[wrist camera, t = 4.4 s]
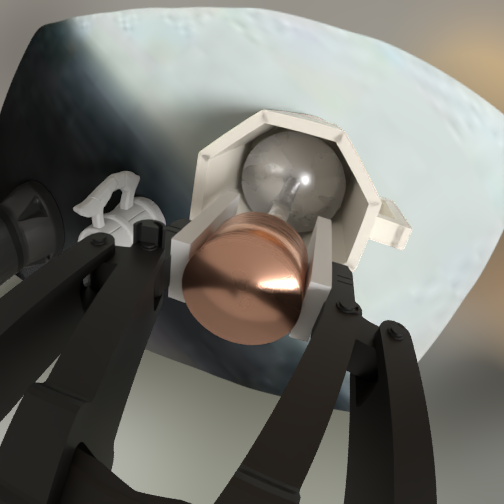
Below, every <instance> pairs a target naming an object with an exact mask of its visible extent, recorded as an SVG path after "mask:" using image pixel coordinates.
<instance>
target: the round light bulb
mask: <svg viewBox="0 0 504 504" xmlns="http://www.w3.org/2000/svg"><path fill="white" fill-rule="evenodd" d="M345 186H346V185H345V174H344V170H343V167H342V164H341V162H340V160H339V158H338V156H337V155H336V153H335V152H334V151H333V149H332V148H331V147H330V146H329V145H328V144H326V143H325V142H324V141H322V140H321V139H320V138H318V137H316V136H314V135H310V134H307V133H303V132H299V131H286V132H281V133H277V134H274V135H272V136H270V137H268V138H266V139H264V140H263V141H261V142H260V143H259V144H258V145H257V146H255V147H254V149H253V150H252V151H251V152H250V154H249V156H248V157H247V159H246V162H245V164H244V167H243V172H242V188H243V192H244V196H245V198H246V201H247V203H248V205H249V206H250V208H251V209H252V211H253V212H245V213H240V214H237V215H235V216H233V217H230V218H229V219H227V220H226V221H224V222H223V223H222V224H221V225H220V226H219V227H218V228H217V230H216V231H215V232H214V233H213V234H212V235H211V236H210V237H209V239H208V240H207V241H206V242H205V243H204V244H203V245H202V247H201V248H200V249H199V250H198V251H197V252H196V253H195V255H194V256H193V257H192V258H191V259H190V261H189V262H188V264H187V265H186V267H185V270H184V273H183V277H182V291H183V296H184V299H185V302H186V304H187V306H188V308H189V310H190V312H191V313H192V314H193V316H194V317H195V318H196V319H197V320H198V322H199V323H200V324H202V325H203V326H204V327H205V328H206V329H208V330H209V331H210V332H212V333H214V334H215V335H217V336H219V337H221V338H223V339H226V340H228V341H231V342H235V343H239V344H246V345H260V344H266V343H270V342H273V341H276V340H278V339H280V338H282V337H283V336H285V335H286V334H287V333H289V332H290V331H291V330H292V329H293V327H294V326H295V325H296V323H297V321H298V319H299V316H300V313H301V308H302V302H303V296H304V289H305V283H306V276H307V270H308V254H307V249H306V246H305V244H304V242H303V240H302V238H301V237H300V235H299V234H298V233H297V232H305V231H309V230H313V229H314V227H315V224H316V221H317V218H318V216H320V217H323V218H326V219H331V218H332V217H333V216H334V215H335V213H336V212H337V211H338V209H339V207H340V205H341V203H342V201H343V198H344V194H345Z"/></svg>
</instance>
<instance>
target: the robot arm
mask: <svg viewBox="0 0 504 504" xmlns="http://www.w3.org/2000/svg"><path fill="white" fill-rule="evenodd" d="M239 198H240V194H239V193H236V192H232V191H228V190H227V191H226V192H225V193H224V194H223V195H221V196H220V197H219V198H218V199H217V200H215V201H214V202H213V203H212V204H211V205H209V206H208V207H207V208H206V209H205V210H204V211H202V212H201V213H200V214H199V215H198V216H197V217H195V218H194V219H193V220H188V219H185V218H182V219H179V220H176V221H174V222H173V223H172V224H170V225H169V226H168V227H166V225H165V224H164V223H162V222H161V221H158V220H152V219H145V220H140V221H137V222H135V223H134V224H133V244H132V245H131V247H124V246H116V245H115V238H114V237H113V236H112V235H110V234H108V233H104V232H97V233H94V234H91V235H89V236H87V237H85V238H84V239H82V240H81V241H79V242H77V243H76V244H74V245H73V246H71V247H70V248H68V249H67V250H65V251H64V252H62V253H61V251H62V249H63V245H64V227H63V222H62V218H61V215H60V212H59V209H58V207H57V204H56V202H55V200H54V199H53V197H52V195H51V194H50V192H49V191H48V190H47V189H46V188H45V187H44V186H43V185H42V184H41V183H39V182H37V181H28V182H25V183H23V184H21V185H19V186H18V187H16V188H15V189H14V190H13V191H12V192H11V193H10V194H9V195H8V196H7V197H6V198H5V199H4V200H3V201H2V202H1V203H0V286H1V285H2V284H3V283H4V282H6V281H7V280H8V279H10V278H11V277H12V276H13V275H15V274H16V273H17V272H19V271H20V270H22V269H23V268H25V267H29V266H33V265H37V264H41V263H46V262H48V263H47V264H45V265H44V266H42V267H41V268H40V269H38V270H37V271H35V272H34V273H33V274H31V275H30V276H29V277H27V278H26V279H25V280H23V281H22V282H21V283H19V284H18V285H17V286H15V287H14V288H13V289H12V290H10V291H9V292H8V293H6V294H5V295H4V296H3V297H1V298H0V421H1V420H3V418H4V417H5V416H6V415H7V414H8V413H9V412H10V411H11V410H12V408H13V407H14V406H15V405H16V404H17V402H18V401H19V400H20V399H21V398H22V397H23V398H22V400H21V402H20V404H19V406H18V408H17V410H16V412H15V414H14V416H13V419H12V421H11V423H10V425H9V427H8V429H7V432H6V434H5V437H4V439H3V441H2V444H1V446H0V504H191V503H188V502H185V501H182V500H177V499H171V498H165V497H160V496H155V495H150V494H145V493H141V492H137V491H135V490H133V489H132V488H131V487H129V486H128V485H127V484H126V483H124V482H123V481H122V480H121V479H120V478H118V477H117V476H116V475H115V474H114V473H113V472H111V469H112V465H113V458H114V440H115V437H116V433H117V430H118V427H119V423H120V420H121V417H122V414H123V411H124V408H125V405H126V402H127V399H128V396H129V393H130V390H131V387H132V384H133V381H134V378H135V375H136V372H137V369H138V366H139V364H140V361H141V358H142V355H143V353H144V350H145V347H146V344H147V342H148V339H149V336H150V334H151V331H152V328H153V326H154V323H155V321H156V318H157V316H158V313H159V310H160V308H161V305H162V303H163V292H164V291H165V290H166V289H167V287H168V286H169V293H168V297H171V298H174V299H176V300H179V301H182V302H185V299H184V296H183V291H182V277H183V273H184V270H185V267H186V265H187V264H188V262H189V261H190V259H191V258H192V257H193V256H194V255H195V253H196V252H197V251H198V250H199V249H200V248H201V247H202V245H203V244H204V243H205V242H206V241H207V240H208V239H209V237H210V236H211V235H212V234H213V233H214V232H215V231H216V230H217V228H218V227H219V226H220V225H221V224H222V223H223V222H224V221H226V220H227V219H229V218H230V217H233V216H235V215H236V214H237V209H238V203H239ZM60 253H61V254H60ZM59 254H60V255H59ZM307 254H308V270H307V276H306V283H305V289H304V296H303V302H302V308H301V313H300V316H299V319H298V321H297V323H296V325H295V326H294V327H293V329H292V330H291V331H290V334H289V337H292V338H296V339H299V340H303V341H306V342H307V341H308V339H309V337H310V335H311V340H310V342H309V344H308V346H307V348H306V350H305V352H304V354H303V356H302V358H301V360H300V362H299V364H298V366H297V368H296V370H295V372H294V374H293V375H292V377H291V379H290V381H289V383H288V385H287V387H286V389H285V390H284V392H283V394H282V396H281V398H280V400H279V401H278V403H277V405H276V407H275V409H274V410H273V412H272V414H271V416H270V417H269V419H268V421H267V422H266V424H265V426H264V428H263V429H262V431H261V433H260V435H259V436H258V438H257V439H256V441H255V443H254V444H253V446H252V448H251V449H250V451H249V452H248V454H247V455H246V457H245V459H244V460H243V462H242V463H241V465H240V467H239V468H238V469H237V471H236V472H235V474H234V476H233V477H232V478H231V480H230V481H229V483H228V484H227V486H226V487H225V489H224V490H223V492H222V493H221V494H220V496H219V497H218V499H217V500H216V502H215V503H214V504H299V502H300V494H299V492H300V488H301V486H302V484H303V481H304V479H305V477H306V475H307V473H308V471H309V468H310V466H311V464H312V462H313V459H314V457H315V455H316V452H317V450H318V448H319V445H320V443H321V440H322V438H323V435H324V433H325V430H326V428H327V425H328V422H329V420H330V417H331V414H332V411H333V409H334V406H335V403H336V400H337V398H338V395H339V392H340V389H341V386H342V383H343V380H344V376H345V373H346V370H347V371H349V372H350V423H349V424H350V425H349V448H348V464H347V478H346V489H345V498H344V504H437V495H436V477H435V465H434V456H433V447H432V438H431V431H430V424H429V418H428V412H427V406H426V401H425V395H424V390H423V386H422V380H421V376H420V371H419V367H418V363H417V358H416V354H415V350H414V346H413V342H412V339H411V336H410V333H409V331H408V330H407V329H406V328H405V327H404V326H403V325H401V324H400V323H397V322H395V321H390V320H387V321H383V322H382V323H381V325H380V326H379V327H378V326H377V325H375V324H373V323H371V322H369V321H367V320H366V319H364V318H363V317H362V309H361V308H360V306H359V305H358V304H357V303H356V302H355V296H354V286H353V276H352V272H351V270H350V269H349V267H348V266H346V265H343V264H340V263H336V262H333V261H332V225H331V220H330V219H326V218H323V217H320V216H318V218H317V221H316V224H315V227H314V230H313V233H312V237H311V240H310V243H309V246H308V249H307ZM56 256H57V257H56ZM53 258H54V259H53ZM86 276H88V283H86V284H85V285H84V284H83V279H84V278H85V277H86ZM60 354H61V355H60ZM59 355H60V357H59V358H58V360H57V362H56V364H55V366H54V368H53V369H52V371H51V373H50V375H49V377H48V378H47V380H46V381H45V382H44V383H36V380H37V379H38V378H39V377H40V376H41V375H42V374H43V373H44V371H45V370H46V369H47V368H48V367H49V366H50V365H51V364H52V363H53V362H54V360H55V359H56V358H57V357H58V356H59ZM23 395H24V396H23Z"/></svg>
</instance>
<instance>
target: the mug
mask: <svg viewBox="0 0 504 504" xmlns="http://www.w3.org/2000/svg"><path fill="white" fill-rule="evenodd" d="M139 180H140V177H139V176H138V175H135V174H134V173H133V172H130V171H121V172H120V173H115V174H111V175H110V176H108V177H107V179H105V180H104V181H103V182H102V183H101V184H100V185H99V186H98V187H97V188H96V189H95V190H94V191H93V192H92V193H91V194H90V195H89V196H87V197H88V198H86V199H85V200H84V201H83V202H82V203H80V204H78V205H76V206H75V207H74V208H73V210H74V211H75V212H77V213H78V214H80V215H81V216H85V217H92V224H91V225H90V226H89V227H87V228H86V229H84V231H82V232H81V234H80V236H79V238H78V242H79V241H81V240H82V239H84V238H85V237H87V236H89V235H91V234H94V233H97V232H104V233H108V234H110V235H112V236H113V237H114V238H115V245H116V246H124V247H131V245H132V244H133V224H134V223H135V222H137V221H140V220H145V219H152V220H158V221H161V222H162V223H164V224H165V225H166V222H165V218H164V216H163V214H162V212H161V210H160V208H159V207H158V206H157V205H156V204H154V202H153V201H152V200H150V199H148V198H145V197H134V194H135V190H136V187H137V185H138V183H139ZM117 189H120V190H121V191H122V196H121V201H120V203H119V204H118V205H117V206H116V207H115V209H114V210H112V211H111V212H109V213H105V214H103V208H104V206H106V204H107V202H108V201H109V199H110V197H111V194H112V192H113V191H116V190H117Z"/></svg>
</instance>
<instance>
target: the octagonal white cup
mask: <svg viewBox="0 0 504 504" xmlns="http://www.w3.org/2000/svg"><path fill="white" fill-rule="evenodd" d="M286 131H299V132H303V133H307V134H310V135H314V136H316V137H318V138H320V139H321V140H322V141H324V142H325V143H326V144H328V145H329V146H330V147H331V148H332V149H333V151H334V152H335V153H336V155H337V156H338V158H339V160H340V162H341V164H342V167H343V170H344V174H345V185H346V186H345V194H344V198H343V201H342V203H341V205H340V207H339V209H338V211H337V212H336V213H335V215H334V216H333V217H332V218H331V219H330V220H331V225H332V261H333V262H336V263H340V264H343V265H346V266H348V267H349V269H350V270H351V272H353V271H355V270H356V268H357V266H358V263H359V261H360V259H361V256H362V254H363V251H364V249H365V247H366V244H367V242H368V239H371V240H374V241H377V242H380V243H383V244H386V245H389V246H392V247H395V248H397V249H400V250H404V248H405V245H406V243H407V241H408V239H409V236H410V234H411V232H412V228H411V226H410V225H409V223H408V222H407V220H406V219H405V217H404V216H403V214H402V213H401V211H400V210H399V208H398V207H397V206H396V204H395V203H394V201H391V200H388V199H386V198H383V197H380V196H378V193H377V191H376V189H375V187H374V185H373V183H372V181H371V179H370V177H369V175H368V173H367V171H366V169H365V167H364V165H363V163H362V161H361V160H360V158H359V156H358V154H357V152H356V150H355V148H354V147H353V145H352V143H351V141H350V139H349V138H348V136H347V134H346V132H345V131H344V130H342V129H341V128H340V127H339V126H337V125H336V124H333V123H330V122H327V121H325V120H323V119H321V118H318V117H315V116H312V115H307V114H297V113H292V112H288V111H277V110H261V111H259V112H257V113H256V114H254V115H253V116H251V117H250V118H248V119H246V120H245V121H243V122H242V123H240V124H239V125H237V126H236V127H234V128H233V129H231V130H230V131H228V132H227V133H225V134H224V135H222V136H221V137H220V138H218V139H217V140H215V141H214V142H212V143H211V144H210V145H208V146H207V147H205V148H204V149H203V150H201V151H200V152H199V153H198V160H197V167H196V174H195V181H194V188H193V196H192V203H191V212H190V220H193V219H194V218H195V217H197V216H198V215H199V214H200V213H201V212H202V211H204V210H205V209H206V208H207V207H208V206H209V205H211V204H212V203H213V202H214V201H215V200H217V199H218V198H219V197H220V196H221V195H223V194H224V193H225V192H226V191H227V190H228V191H232V192H236V193H239V194H240V198H239V203H238V209H237V214H240V213H245V212H253V211H252V209H251V208H250V206H249V205H248V203H247V201H246V198H245V196H244V192H243V188H242V172H243V167H244V164H245V162H246V159H247V157H248V156H249V154H250V152H251V151H252V150H253V149H254V147H255V146H257V145H258V144H259V143H260V142H261V141H263V140H264V139H266V138H268V137H270V136H272V135H274V134H277V133H281V132H286ZM237 214H236V215H237ZM313 230H314V229H313ZM313 230H309V231H305V232H297V233H298V234H299V235H300V237H301V238H302V240H303V242H304V244H305V246H306V249H308V246H309V243H310V240H311V237H312V233H313Z"/></svg>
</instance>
